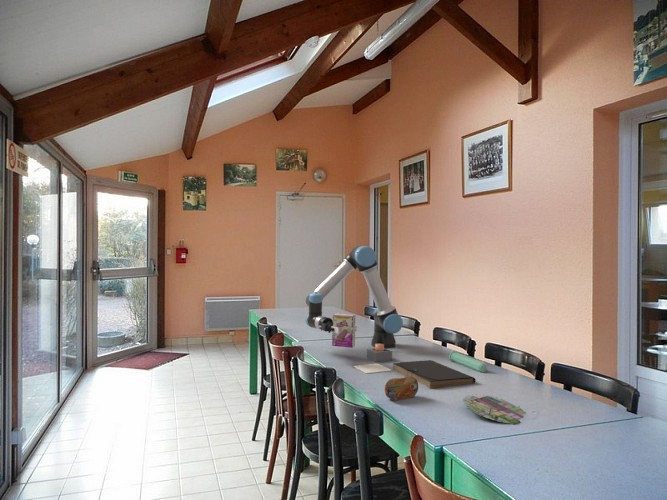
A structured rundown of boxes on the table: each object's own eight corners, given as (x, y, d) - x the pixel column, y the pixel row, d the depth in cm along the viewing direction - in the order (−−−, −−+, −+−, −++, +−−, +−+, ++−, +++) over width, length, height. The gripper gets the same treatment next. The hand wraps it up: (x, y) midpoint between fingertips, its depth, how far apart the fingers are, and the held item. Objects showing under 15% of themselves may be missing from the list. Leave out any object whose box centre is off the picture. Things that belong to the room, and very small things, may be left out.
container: (487, 360, 223) (456, 348, 247) (477, 365, 221) (447, 353, 245) (490, 371, 224) (459, 358, 248) (481, 376, 222) (450, 363, 246)
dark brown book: (392, 362, 227) (433, 359, 236) (392, 370, 227) (433, 367, 236) (429, 380, 196) (475, 376, 205) (429, 390, 196) (475, 385, 205)
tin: (387, 402, 178) (388, 380, 178) (383, 399, 181) (383, 378, 181) (418, 396, 185) (419, 376, 185) (414, 394, 188) (414, 374, 188)
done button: (381, 352, 251) (381, 343, 251) (385, 354, 247) (385, 344, 247) (373, 353, 249) (373, 343, 249) (377, 354, 245) (377, 345, 245)
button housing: (382, 356, 254) (382, 347, 254) (392, 360, 245) (392, 351, 245) (366, 357, 250) (366, 348, 250) (375, 362, 241) (375, 352, 241)
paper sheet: (377, 364, 237) (377, 363, 237) (391, 370, 224) (391, 370, 224) (353, 366, 232) (353, 365, 232) (366, 373, 219) (366, 372, 219)
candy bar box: (331, 346, 238) (332, 314, 237) (335, 344, 242) (335, 313, 242) (352, 348, 234) (352, 316, 234) (355, 346, 238) (355, 314, 238)
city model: (522, 438, 151) (524, 420, 151) (452, 415, 163) (454, 398, 163) (533, 416, 172) (535, 400, 172) (471, 397, 185) (473, 382, 184)
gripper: (341, 328, 260) (364, 335, 241) (306, 332, 248) (328, 339, 229) (341, 315, 260) (365, 320, 241) (306, 318, 248) (328, 324, 229)
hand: (347, 329), depth 235 cm, fingers closed on candy bar box, 10 cm apart
